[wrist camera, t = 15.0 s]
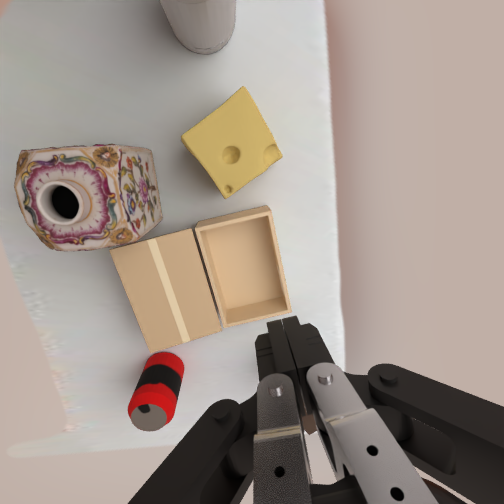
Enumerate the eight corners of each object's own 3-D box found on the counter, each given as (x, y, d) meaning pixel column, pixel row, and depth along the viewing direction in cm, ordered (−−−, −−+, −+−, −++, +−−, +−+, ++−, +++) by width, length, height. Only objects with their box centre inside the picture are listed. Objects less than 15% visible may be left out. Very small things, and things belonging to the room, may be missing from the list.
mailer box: (198, 221, 49) (194, 228, 44) (267, 205, 49) (271, 210, 44) (224, 311, 55) (223, 328, 50) (286, 297, 55) (292, 312, 49)
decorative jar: (76, 152, 45) (-20, 147, 28) (152, 147, 45) (103, 139, 28) (94, 227, 48) (19, 264, 31) (164, 221, 49) (128, 255, 32)
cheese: (278, 157, 47) (290, 157, 38) (224, 195, 48) (222, 204, 39) (242, 98, 44) (245, 81, 35) (186, 140, 45) (173, 135, 36)
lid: (191, 228, 43) (191, 227, 44) (109, 250, 42) (110, 249, 42) (221, 331, 49) (221, 329, 50) (150, 353, 48) (150, 351, 48)
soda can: (176, 346, 56) (162, 393, 45) (190, 376, 59) (179, 428, 47) (140, 357, 57) (116, 406, 45) (154, 386, 59) (136, 440, 48)
